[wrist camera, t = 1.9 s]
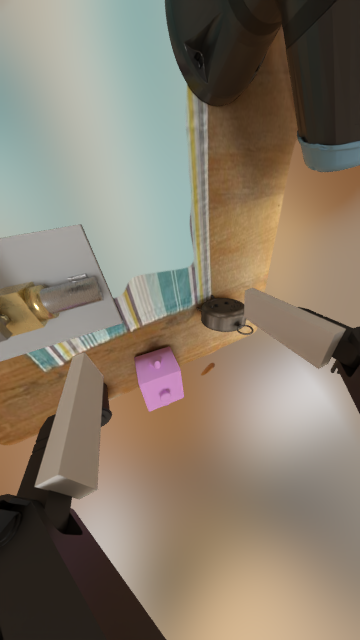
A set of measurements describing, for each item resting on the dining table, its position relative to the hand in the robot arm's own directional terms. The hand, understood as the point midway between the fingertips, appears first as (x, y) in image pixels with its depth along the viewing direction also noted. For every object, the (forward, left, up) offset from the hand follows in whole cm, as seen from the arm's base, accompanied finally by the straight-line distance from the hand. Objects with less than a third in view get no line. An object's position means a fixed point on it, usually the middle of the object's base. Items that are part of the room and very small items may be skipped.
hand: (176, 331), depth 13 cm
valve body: (+1, -22, -24) cm, 33 cm away
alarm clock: (+14, +17, -26) cm, 34 cm away
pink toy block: (+27, -3, -26) cm, 38 cm away
